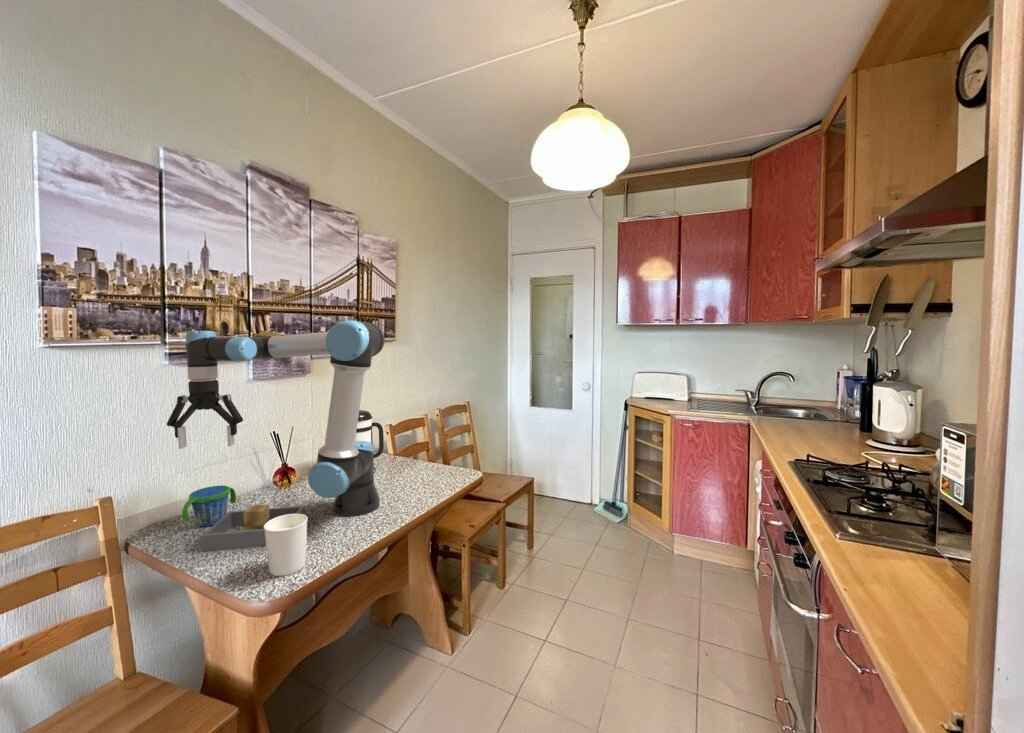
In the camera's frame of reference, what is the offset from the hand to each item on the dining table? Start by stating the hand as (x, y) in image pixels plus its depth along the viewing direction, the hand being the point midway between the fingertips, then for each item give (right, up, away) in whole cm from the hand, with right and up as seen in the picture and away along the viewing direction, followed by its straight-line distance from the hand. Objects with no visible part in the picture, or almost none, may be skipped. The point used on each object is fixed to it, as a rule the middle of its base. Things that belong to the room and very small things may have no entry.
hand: (207, 446), depth 127 cm
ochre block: (+20, -25, -6) cm, 33 cm away
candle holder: (+39, -27, -24) cm, 53 cm away
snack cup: (0, -25, +2) cm, 25 cm away
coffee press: (+30, -21, +50) cm, 62 cm away
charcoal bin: (+20, -25, -6) cm, 33 cm away
